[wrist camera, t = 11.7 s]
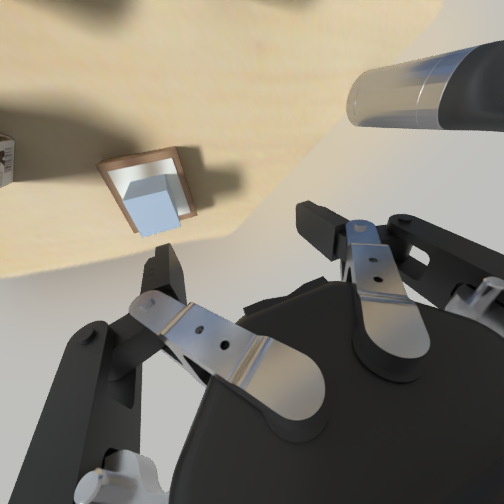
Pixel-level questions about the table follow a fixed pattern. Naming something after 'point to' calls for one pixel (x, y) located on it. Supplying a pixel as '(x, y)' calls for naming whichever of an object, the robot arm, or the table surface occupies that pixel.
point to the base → (145, 166)
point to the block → (151, 205)
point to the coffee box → (6, 159)
